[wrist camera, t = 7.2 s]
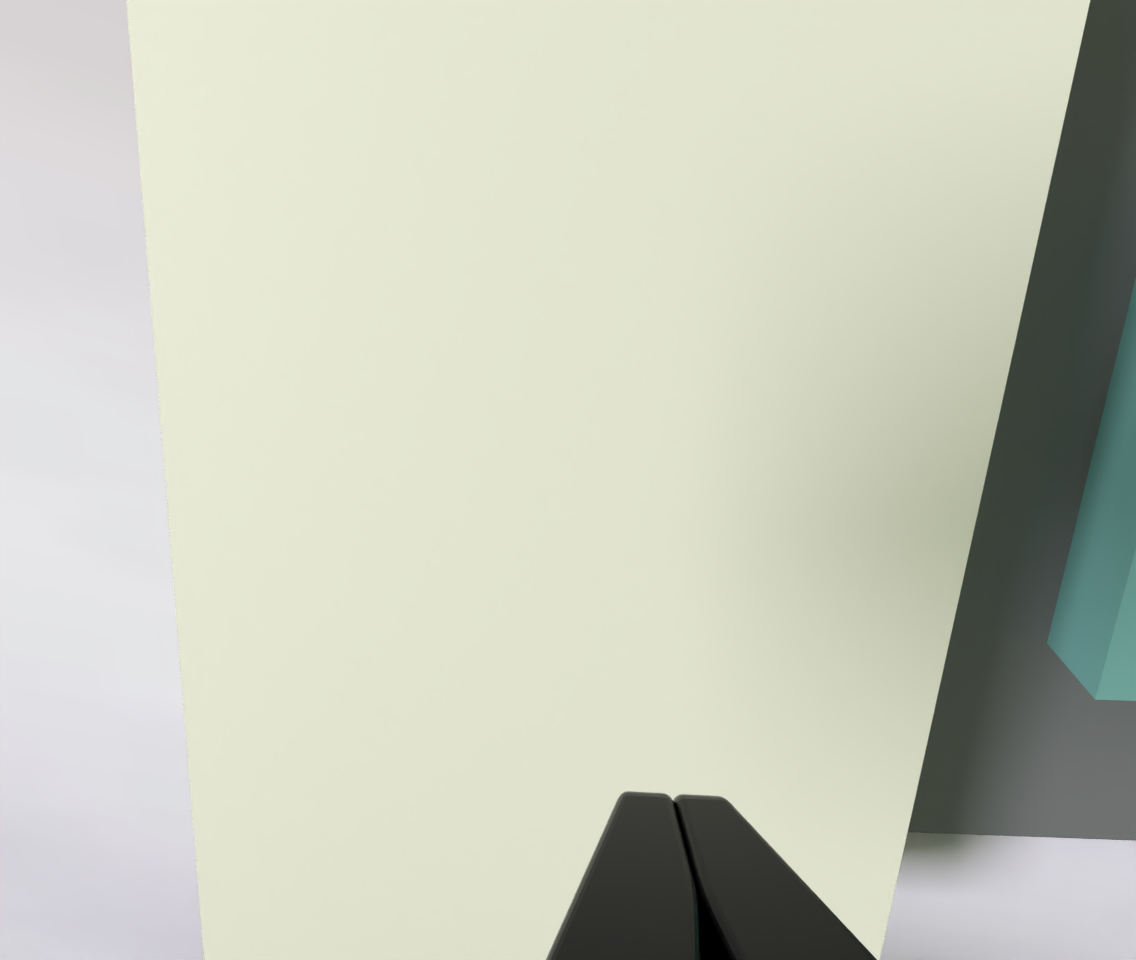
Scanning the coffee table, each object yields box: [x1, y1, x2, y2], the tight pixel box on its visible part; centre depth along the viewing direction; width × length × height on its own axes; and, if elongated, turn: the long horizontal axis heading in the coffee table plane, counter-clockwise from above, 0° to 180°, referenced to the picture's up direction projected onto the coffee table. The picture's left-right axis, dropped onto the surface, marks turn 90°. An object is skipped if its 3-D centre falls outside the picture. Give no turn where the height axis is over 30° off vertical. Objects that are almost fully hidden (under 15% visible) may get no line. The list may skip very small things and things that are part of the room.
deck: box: [126, 0, 1090, 960], centre depth 18 cm, size 20×12×4 cm, turn 176°
